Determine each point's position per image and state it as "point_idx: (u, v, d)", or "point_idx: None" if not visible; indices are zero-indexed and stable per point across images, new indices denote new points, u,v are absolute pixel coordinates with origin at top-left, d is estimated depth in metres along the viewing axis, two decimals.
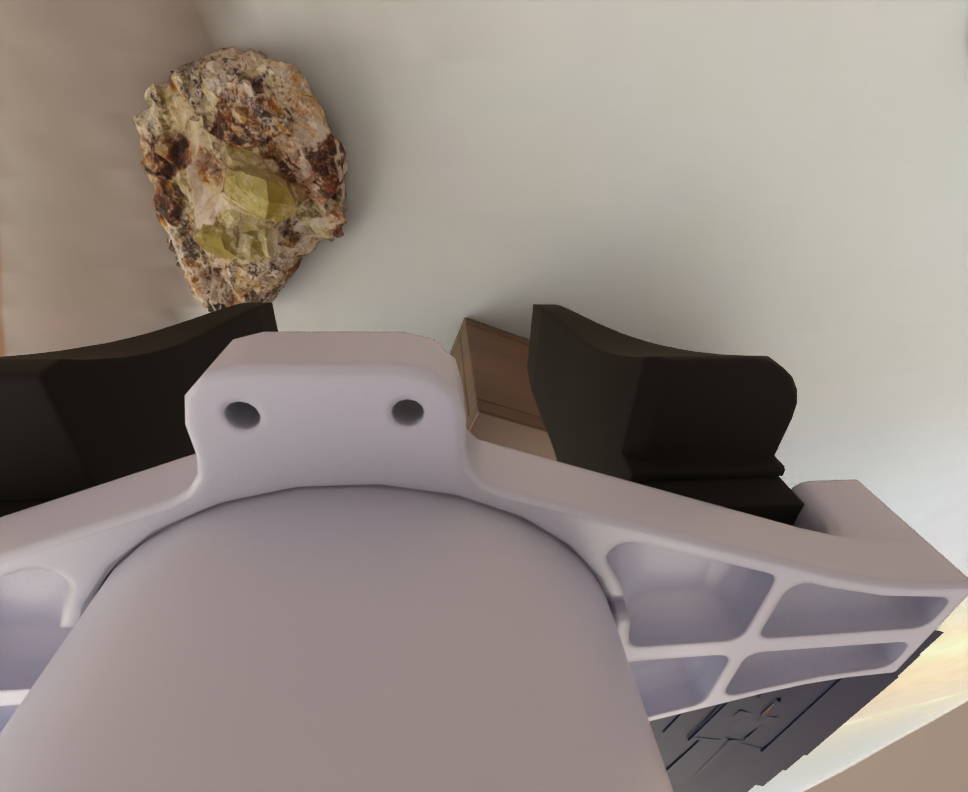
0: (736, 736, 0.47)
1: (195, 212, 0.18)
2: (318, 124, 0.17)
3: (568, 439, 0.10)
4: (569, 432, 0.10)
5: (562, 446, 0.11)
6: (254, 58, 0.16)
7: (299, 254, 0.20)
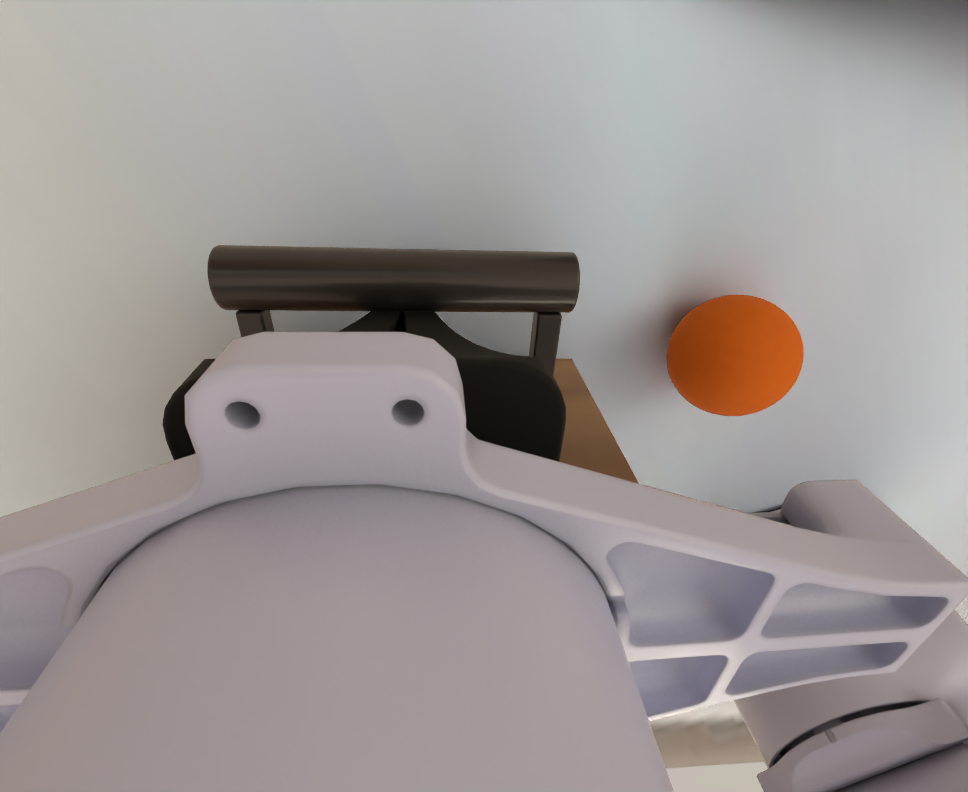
0: None
1: None
2: None
3: None
4: None
5: None
6: None
7: None
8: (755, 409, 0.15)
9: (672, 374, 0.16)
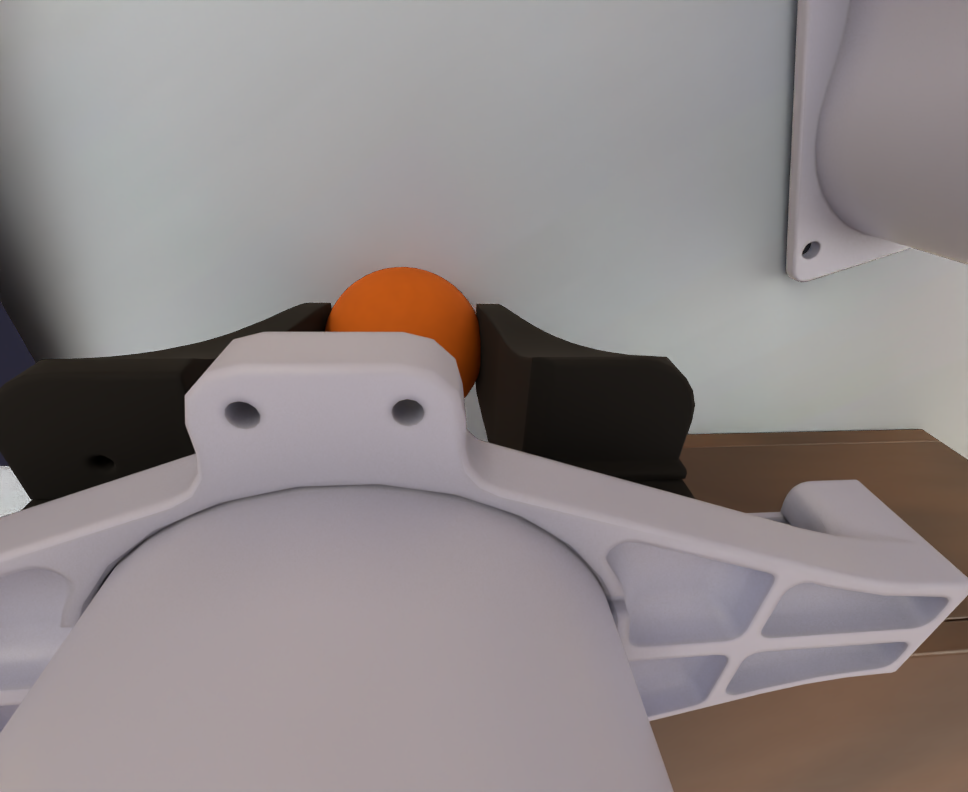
0: None
1: None
2: None
3: (497, 441, 0.10)
4: (497, 433, 0.10)
5: None
6: None
7: None
8: None
9: None
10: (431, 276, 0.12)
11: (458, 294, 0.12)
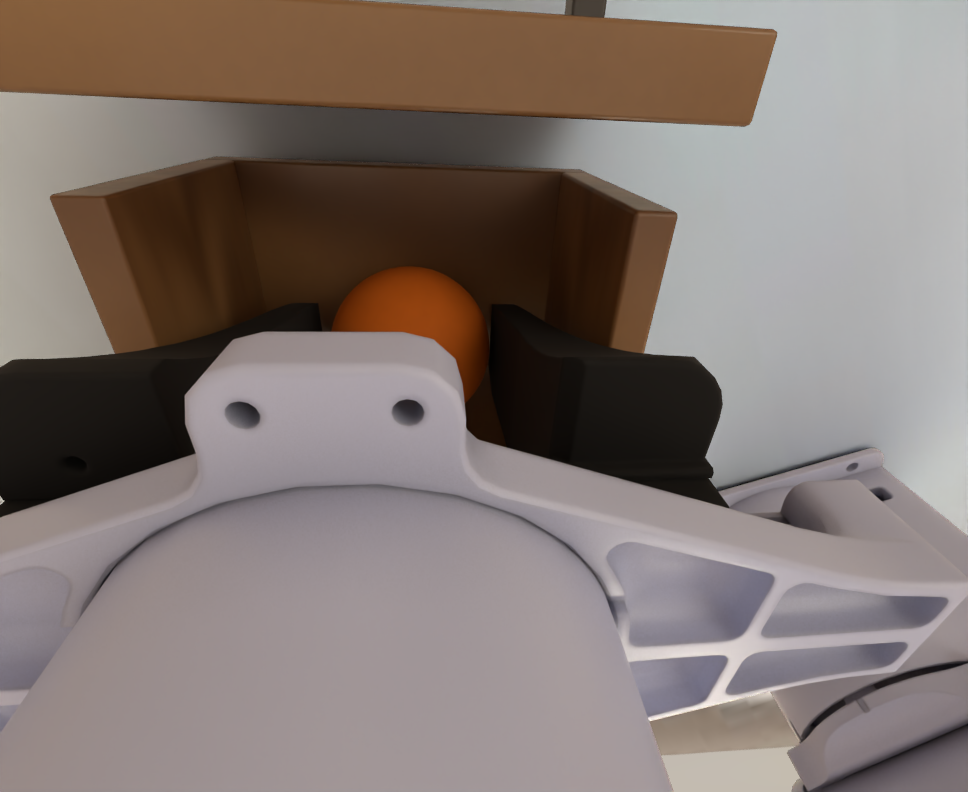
0: None
1: None
2: None
3: (516, 440, 0.10)
4: (517, 433, 0.10)
5: (513, 447, 0.11)
6: None
7: None
8: (460, 371, 0.11)
9: None
10: (438, 275, 0.12)
11: (465, 292, 0.12)
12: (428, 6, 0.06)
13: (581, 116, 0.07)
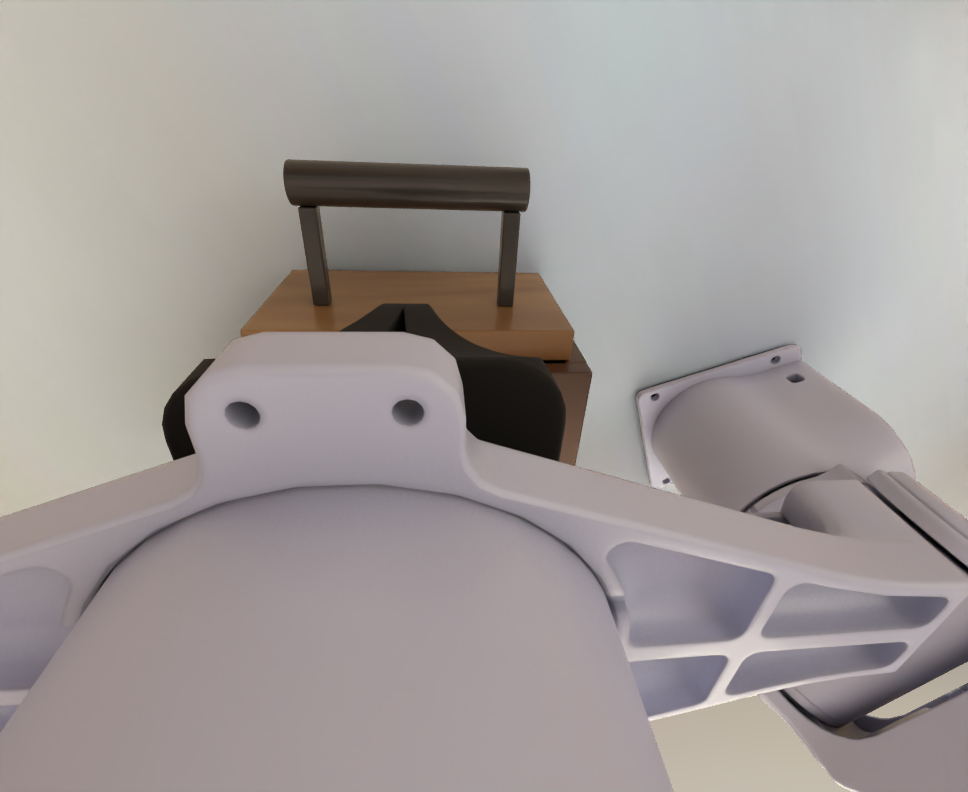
0: None
1: None
2: None
3: None
4: None
5: None
6: None
7: None
8: None
9: None
10: None
11: None
12: None
13: None
